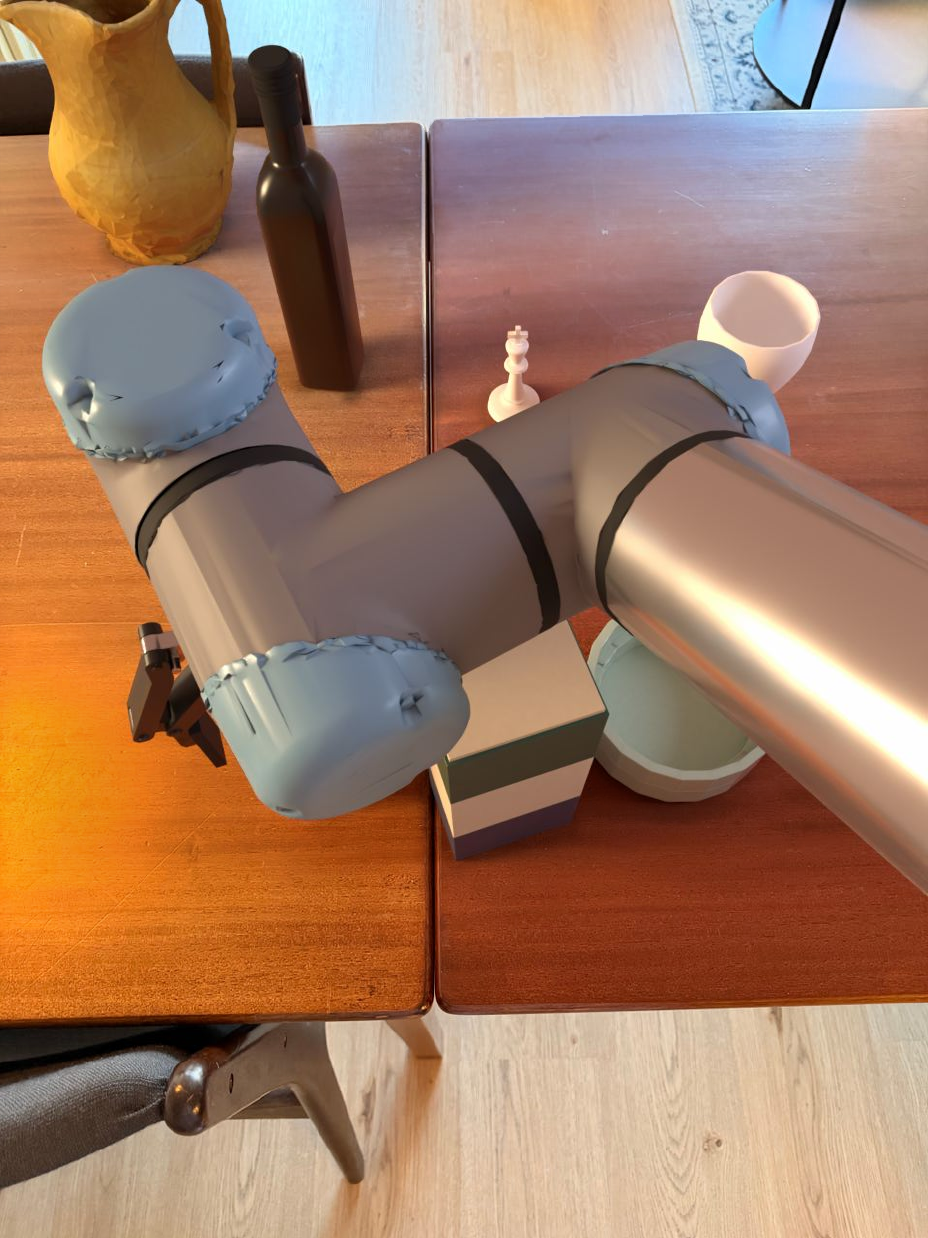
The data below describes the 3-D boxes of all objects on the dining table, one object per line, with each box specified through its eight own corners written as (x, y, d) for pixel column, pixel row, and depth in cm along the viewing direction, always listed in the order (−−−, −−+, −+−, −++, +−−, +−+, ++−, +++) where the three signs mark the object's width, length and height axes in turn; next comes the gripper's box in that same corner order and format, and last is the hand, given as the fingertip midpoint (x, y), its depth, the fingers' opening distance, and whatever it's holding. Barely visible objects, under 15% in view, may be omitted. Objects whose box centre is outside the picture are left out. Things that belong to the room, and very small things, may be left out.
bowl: (796, 769, 69) (823, 742, 63) (621, 829, 67) (633, 807, 61) (713, 610, 75) (731, 574, 70) (550, 661, 73) (556, 628, 68)
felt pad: (604, 712, 47) (605, 709, 47) (449, 762, 46) (449, 760, 46) (565, 622, 50) (566, 618, 50) (417, 668, 49) (417, 665, 48)
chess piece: (541, 426, 84) (548, 348, 75) (488, 427, 84) (489, 349, 75) (538, 385, 86) (545, 305, 77) (487, 386, 86) (488, 306, 77)
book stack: (570, 822, 67) (610, 714, 47) (455, 861, 66) (446, 767, 46) (542, 749, 70) (567, 618, 50) (430, 785, 68) (412, 665, 49)
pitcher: (99, 168, 101) (6, -86, 78) (266, 179, 101) (222, -71, 79) (64, 282, 93) (-51, 38, 71) (244, 293, 94) (188, 54, 71)
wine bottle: (297, 389, 86) (217, 79, 60) (310, 345, 89) (239, 28, 62) (356, 395, 86) (301, 85, 59) (367, 350, 88) (319, 34, 62)
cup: (762, 489, 80) (824, 361, 66) (660, 473, 81) (699, 343, 67) (767, 411, 84) (826, 274, 70) (670, 397, 85) (709, 259, 71)
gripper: (467, 435, 47) (468, 620, 66) (-26, 570, 43) (125, 723, 62) (517, 553, 43) (503, 711, 62) (-12, 709, 40) (143, 826, 59)
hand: (314, 718), depth 62 cm, fingers open, 13 cm apart
